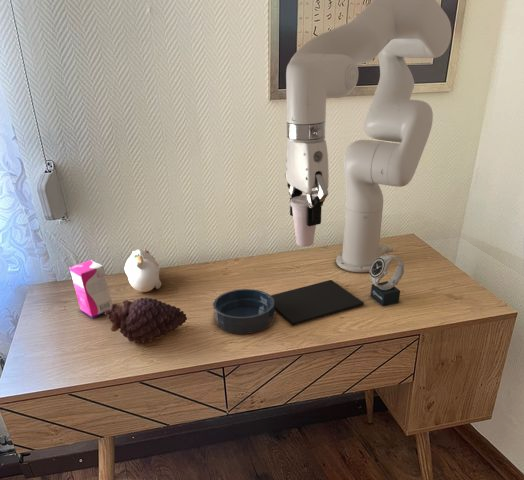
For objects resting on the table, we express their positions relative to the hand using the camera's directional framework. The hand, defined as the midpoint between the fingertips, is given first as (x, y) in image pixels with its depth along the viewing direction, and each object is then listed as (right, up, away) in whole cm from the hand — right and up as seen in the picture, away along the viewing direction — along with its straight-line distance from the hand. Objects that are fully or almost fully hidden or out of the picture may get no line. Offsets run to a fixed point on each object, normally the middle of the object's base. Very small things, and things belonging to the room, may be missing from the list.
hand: (305, 218), depth 113 cm
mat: (+3, -17, +12) cm, 21 cm away
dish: (-13, -21, +7) cm, 26 cm away
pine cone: (-33, -25, +2) cm, 42 cm away
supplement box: (-48, -19, +12) cm, 53 cm away
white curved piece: (-40, -11, +23) cm, 47 cm away
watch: (+20, -16, +13) cm, 29 cm away
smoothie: (0, -5, +3) cm, 6 cm away
